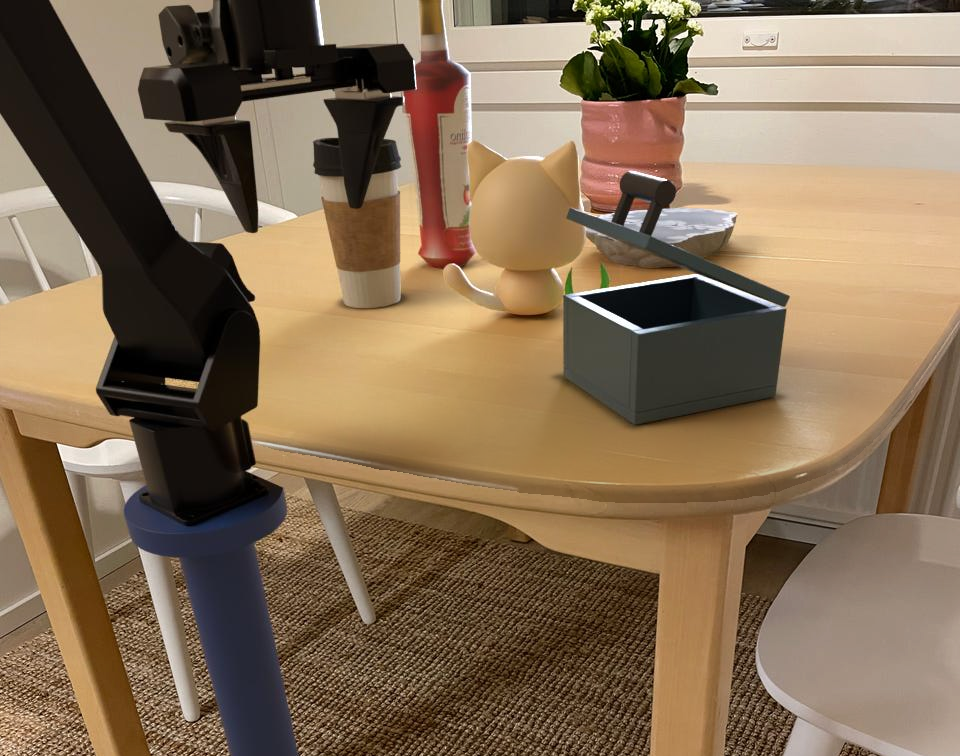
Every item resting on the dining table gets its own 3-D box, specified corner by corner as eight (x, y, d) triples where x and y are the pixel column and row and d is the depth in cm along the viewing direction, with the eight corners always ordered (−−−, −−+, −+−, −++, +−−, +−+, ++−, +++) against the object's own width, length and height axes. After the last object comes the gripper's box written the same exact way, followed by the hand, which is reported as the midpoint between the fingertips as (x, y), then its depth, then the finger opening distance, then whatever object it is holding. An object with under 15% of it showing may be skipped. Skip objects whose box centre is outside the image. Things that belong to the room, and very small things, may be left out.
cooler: (634, 425, 67) (638, 334, 64) (562, 376, 76) (562, 294, 73) (775, 397, 70) (787, 308, 67) (690, 353, 80) (696, 273, 76)
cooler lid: (645, 248, 61) (674, 176, 59) (565, 218, 70) (589, 155, 68) (785, 307, 67) (816, 243, 65) (695, 272, 76) (719, 216, 74)
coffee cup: (336, 292, 102) (316, 135, 94) (415, 288, 102) (401, 130, 94) (327, 314, 95) (303, 147, 87) (411, 309, 95) (396, 141, 87)
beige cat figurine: (624, 304, 93) (630, 131, 84) (588, 333, 85) (590, 147, 77) (486, 293, 99) (479, 131, 90) (441, 320, 91) (429, 146, 83)
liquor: (437, 254, 115) (417, -29, 99) (490, 257, 112) (478, -33, 96) (405, 268, 110) (378, -28, 94) (460, 272, 107) (442, -33, 91)
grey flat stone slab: (625, 229, 121) (625, 204, 120) (754, 238, 113) (757, 211, 112) (549, 264, 108) (549, 236, 106) (690, 277, 100) (692, 247, 98)
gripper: (308, -46, 69) (338, 188, 78) (65, -37, 59) (131, 232, 68) (410, -57, 62) (430, 201, 71) (156, -49, 52) (216, 252, 61)
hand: (305, 219), depth 68 cm, fingers open, 9 cm apart
